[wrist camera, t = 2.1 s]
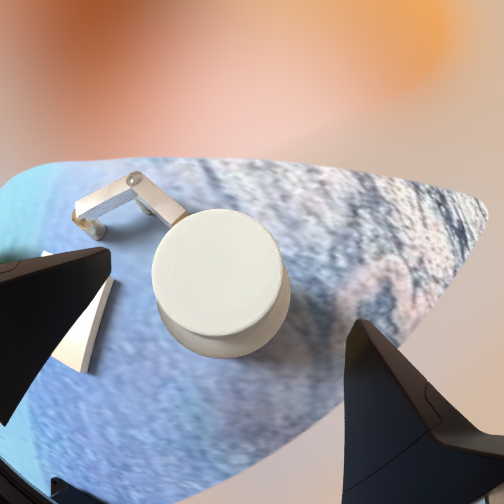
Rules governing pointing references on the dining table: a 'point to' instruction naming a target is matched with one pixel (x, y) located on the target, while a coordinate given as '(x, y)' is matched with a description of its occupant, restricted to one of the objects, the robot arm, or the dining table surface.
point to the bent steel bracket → (121, 193)
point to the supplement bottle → (220, 284)
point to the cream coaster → (83, 332)
